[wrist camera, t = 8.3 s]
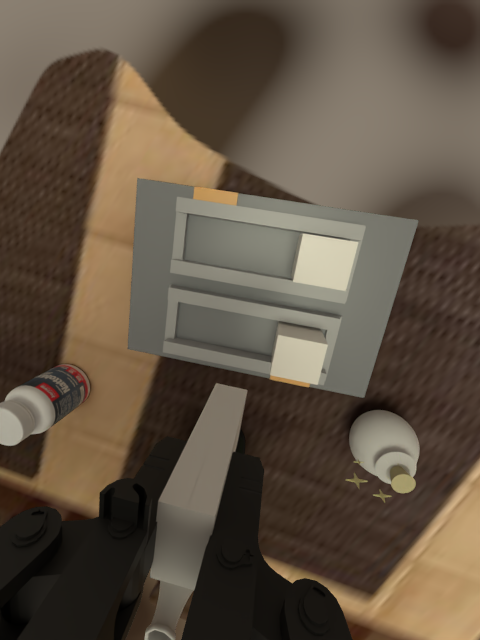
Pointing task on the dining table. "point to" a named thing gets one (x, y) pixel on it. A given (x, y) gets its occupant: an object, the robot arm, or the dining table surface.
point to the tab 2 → (298, 352)
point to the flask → (167, 611)
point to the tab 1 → (323, 261)
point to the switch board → (257, 281)
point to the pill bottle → (42, 402)
